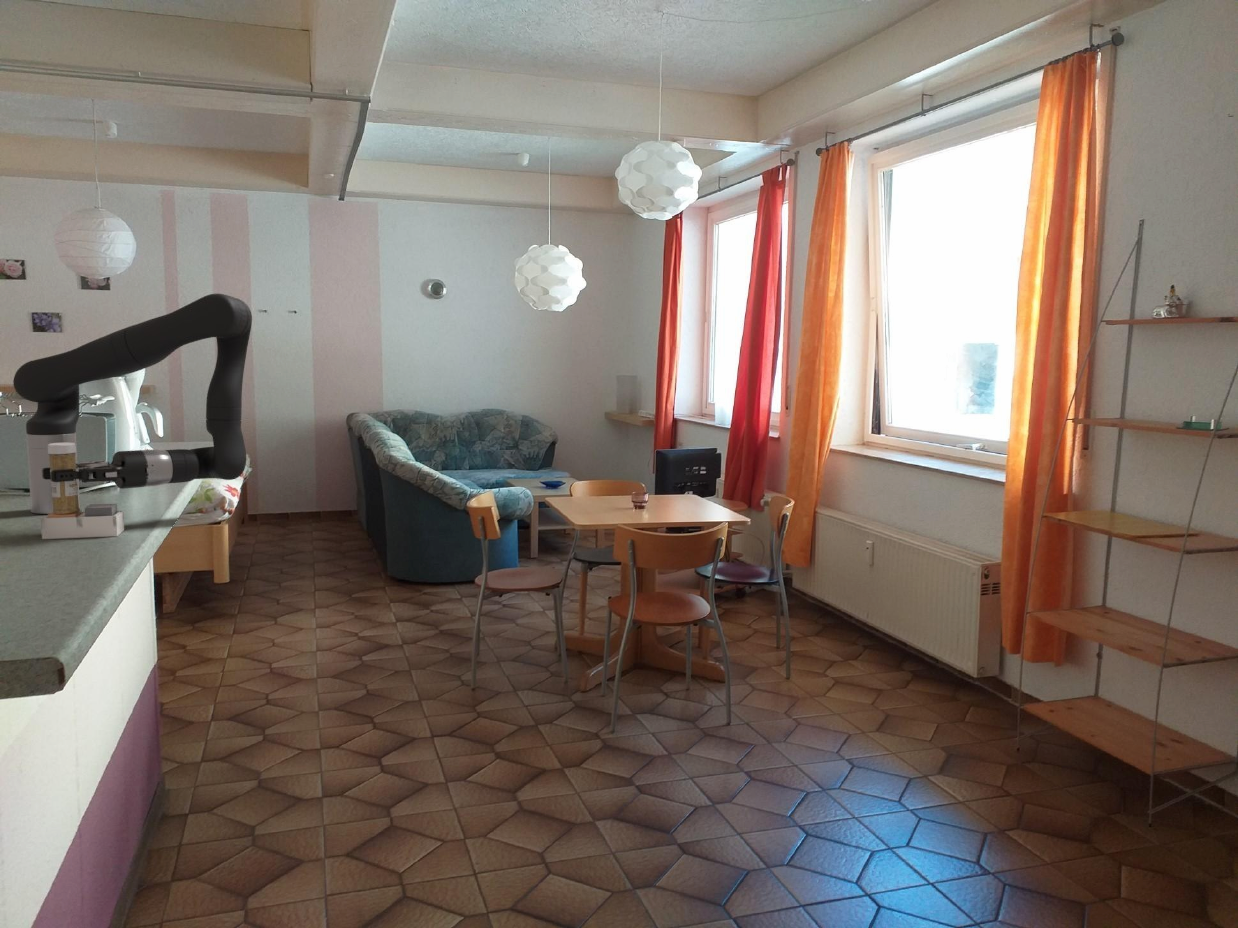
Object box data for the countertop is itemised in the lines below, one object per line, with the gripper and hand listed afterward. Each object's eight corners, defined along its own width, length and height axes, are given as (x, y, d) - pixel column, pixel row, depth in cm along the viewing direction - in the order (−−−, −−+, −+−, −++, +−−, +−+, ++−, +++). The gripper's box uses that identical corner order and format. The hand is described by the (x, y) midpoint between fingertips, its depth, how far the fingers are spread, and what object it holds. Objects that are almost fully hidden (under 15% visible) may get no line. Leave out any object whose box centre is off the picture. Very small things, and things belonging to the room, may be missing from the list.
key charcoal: (91, 514, 177) (90, 504, 177) (117, 513, 179) (116, 503, 179) (85, 518, 173) (84, 508, 173) (112, 517, 174) (111, 507, 174)
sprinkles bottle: (80, 513, 173) (76, 443, 172) (52, 515, 171) (47, 444, 169) (79, 509, 177) (74, 441, 176) (51, 511, 175) (47, 442, 173)
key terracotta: (55, 521, 176) (54, 511, 175) (82, 520, 177) (81, 510, 177) (48, 525, 171) (47, 515, 171) (76, 524, 173) (75, 514, 172)
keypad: (52, 532, 176) (50, 513, 176) (124, 530, 180) (123, 510, 180) (42, 539, 170) (41, 518, 170) (117, 536, 174) (116, 516, 174)
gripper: (128, 447, 188) (34, 452, 175) (156, 452, 178) (58, 458, 166) (130, 483, 189) (36, 490, 176) (157, 490, 179) (60, 499, 167)
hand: (47, 475), depth 171 cm, fingers closed on sprinkles bottle, 4 cm apart
